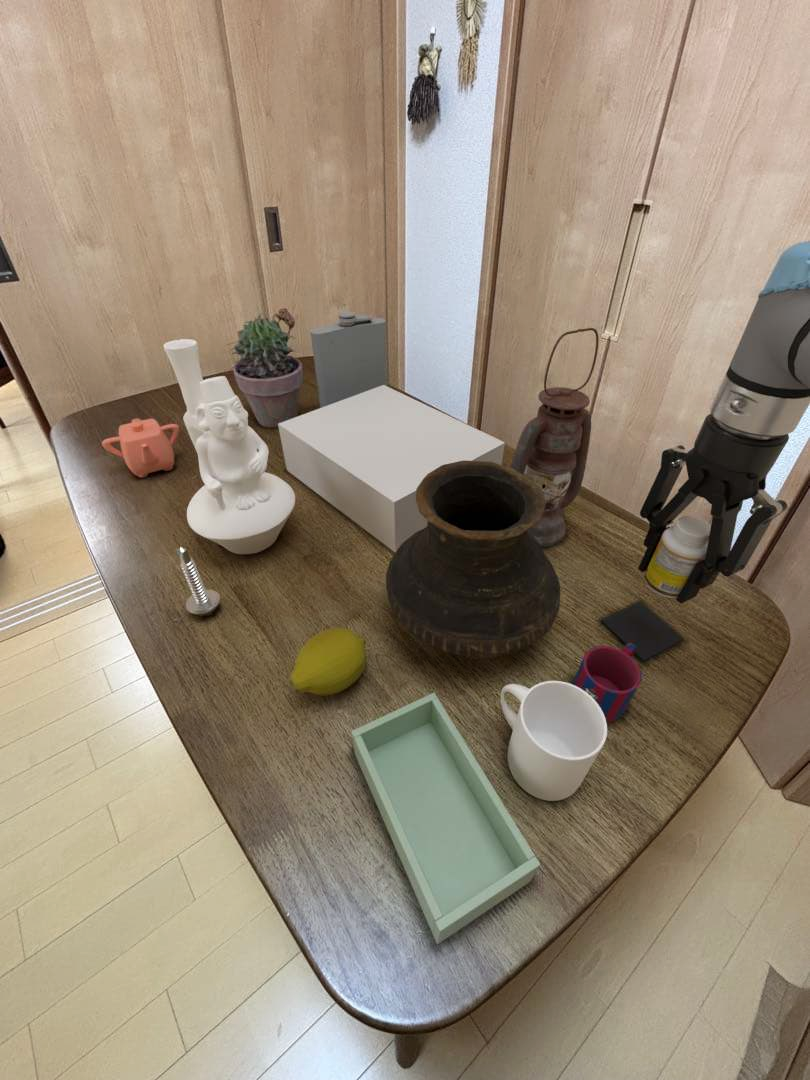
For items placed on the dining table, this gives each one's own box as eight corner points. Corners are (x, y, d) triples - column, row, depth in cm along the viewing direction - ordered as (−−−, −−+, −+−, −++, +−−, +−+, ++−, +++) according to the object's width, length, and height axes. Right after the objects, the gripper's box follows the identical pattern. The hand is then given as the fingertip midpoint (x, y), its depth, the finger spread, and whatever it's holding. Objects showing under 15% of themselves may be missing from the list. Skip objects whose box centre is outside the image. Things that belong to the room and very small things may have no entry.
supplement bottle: (667, 566, 67) (697, 507, 60) (697, 594, 63) (732, 535, 56) (633, 574, 65) (659, 516, 58) (661, 604, 61) (692, 545, 55)
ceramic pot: (366, 581, 78) (357, 462, 63) (499, 545, 84) (518, 430, 70) (424, 712, 61) (430, 591, 46) (585, 654, 67) (636, 532, 52)
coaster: (683, 640, 69) (684, 639, 69) (642, 662, 66) (643, 660, 66) (639, 603, 74) (640, 601, 74) (600, 621, 72) (601, 619, 71)
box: (384, 428, 116) (383, 384, 109) (497, 490, 97) (504, 442, 90) (286, 470, 102) (277, 423, 95) (395, 552, 83) (394, 502, 76)
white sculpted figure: (213, 586, 77) (140, 398, 56) (184, 515, 91) (117, 342, 70) (316, 548, 84) (286, 367, 63) (274, 487, 98) (238, 322, 77)
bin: (530, 881, 47) (540, 864, 44) (437, 944, 44) (440, 931, 40) (432, 715, 60) (434, 692, 57) (354, 753, 57) (351, 731, 53)
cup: (559, 694, 63) (571, 664, 58) (605, 655, 67) (619, 624, 63) (603, 733, 59) (620, 704, 54) (649, 688, 63) (667, 658, 59)
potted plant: (219, 422, 119) (189, 315, 102) (282, 396, 130) (264, 296, 113) (265, 447, 110) (240, 334, 93) (328, 416, 121) (316, 310, 104)
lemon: (355, 641, 69) (351, 604, 64) (382, 681, 64) (380, 645, 59) (284, 675, 65) (273, 639, 60) (306, 722, 60) (297, 687, 55)
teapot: (106, 473, 102) (85, 430, 95) (147, 446, 110) (131, 405, 103) (160, 487, 98) (142, 443, 91) (198, 458, 106) (185, 416, 100)
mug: (520, 696, 62) (535, 646, 55) (597, 772, 55) (625, 726, 48) (471, 733, 59) (480, 685, 52) (546, 821, 51) (568, 778, 44)
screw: (223, 619, 72) (189, 625, 71) (223, 595, 76) (190, 602, 75) (198, 555, 64) (159, 562, 63) (199, 533, 67) (163, 539, 66)
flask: (382, 407, 125) (378, 304, 108) (390, 415, 121) (387, 309, 105) (319, 423, 118) (304, 316, 102) (326, 431, 115) (312, 322, 99)
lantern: (589, 533, 87) (656, 332, 64) (514, 559, 82) (556, 351, 59) (551, 500, 94) (598, 310, 71) (480, 522, 89) (506, 325, 66)
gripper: (648, 394, 53) (594, 548, 69) (821, 479, 41) (708, 644, 56) (694, 381, 56) (632, 533, 71) (871, 457, 43) (749, 621, 59)
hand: (666, 582), depth 64 cm, fingers closed on supplement bottle, 6 cm apart
